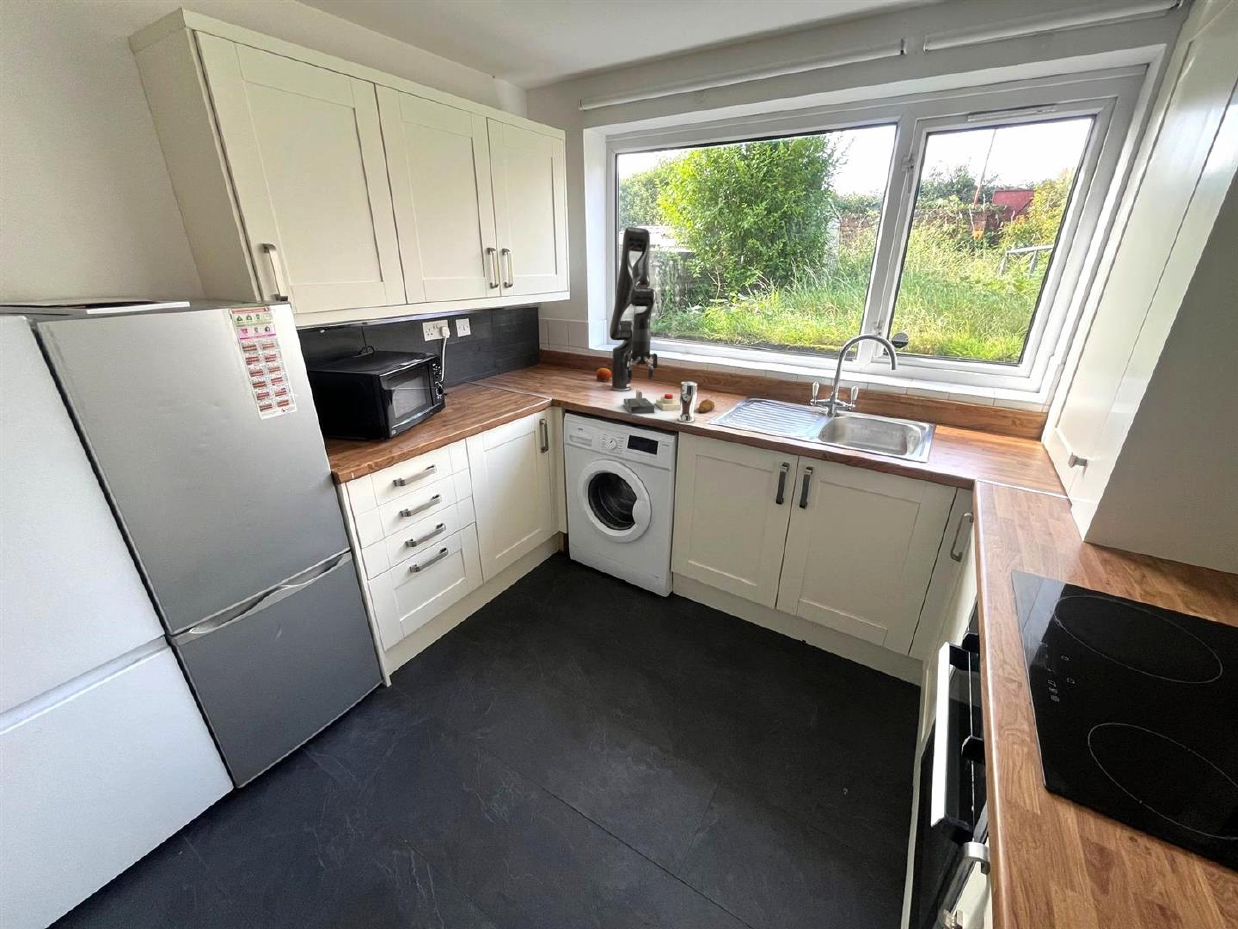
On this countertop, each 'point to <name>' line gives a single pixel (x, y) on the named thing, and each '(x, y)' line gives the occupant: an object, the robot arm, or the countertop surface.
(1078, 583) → the countertop surface
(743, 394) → the countertop surface
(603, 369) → the fruit
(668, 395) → the ignition button
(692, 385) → the beer glass
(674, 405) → the ignition block
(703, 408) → the brown lumpy oval piece
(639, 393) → the knob
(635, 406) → the hob panel
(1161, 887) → the countertop surface
